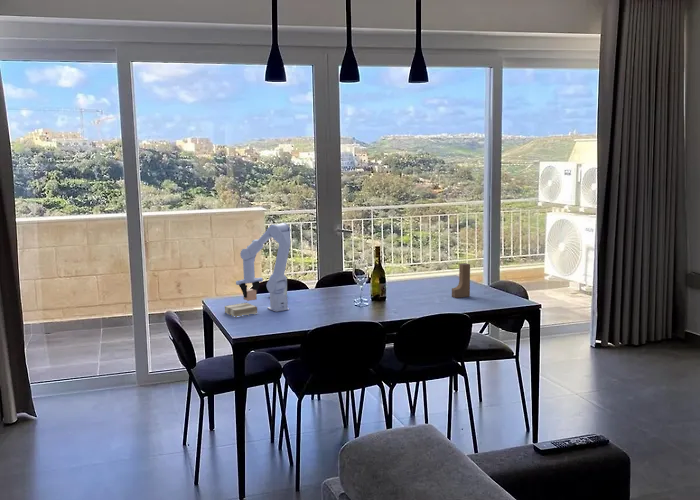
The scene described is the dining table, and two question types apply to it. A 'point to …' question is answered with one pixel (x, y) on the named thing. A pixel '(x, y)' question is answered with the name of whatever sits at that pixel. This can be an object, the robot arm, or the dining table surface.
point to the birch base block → (240, 309)
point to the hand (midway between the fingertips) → (250, 296)
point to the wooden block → (463, 282)
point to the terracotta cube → (251, 295)
